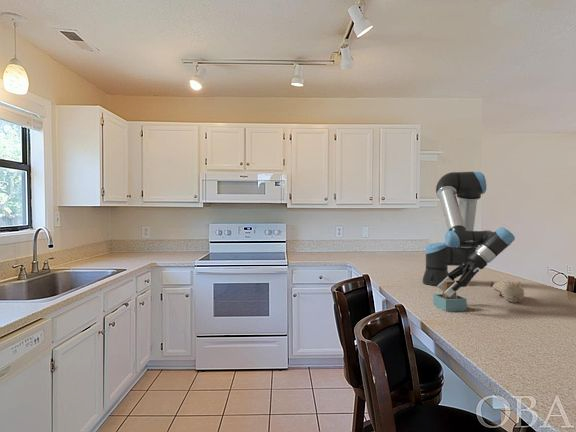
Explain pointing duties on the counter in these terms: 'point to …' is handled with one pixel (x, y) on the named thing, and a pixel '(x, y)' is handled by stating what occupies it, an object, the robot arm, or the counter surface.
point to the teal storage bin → (450, 303)
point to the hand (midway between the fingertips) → (443, 291)
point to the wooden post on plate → (446, 286)
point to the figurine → (509, 290)
